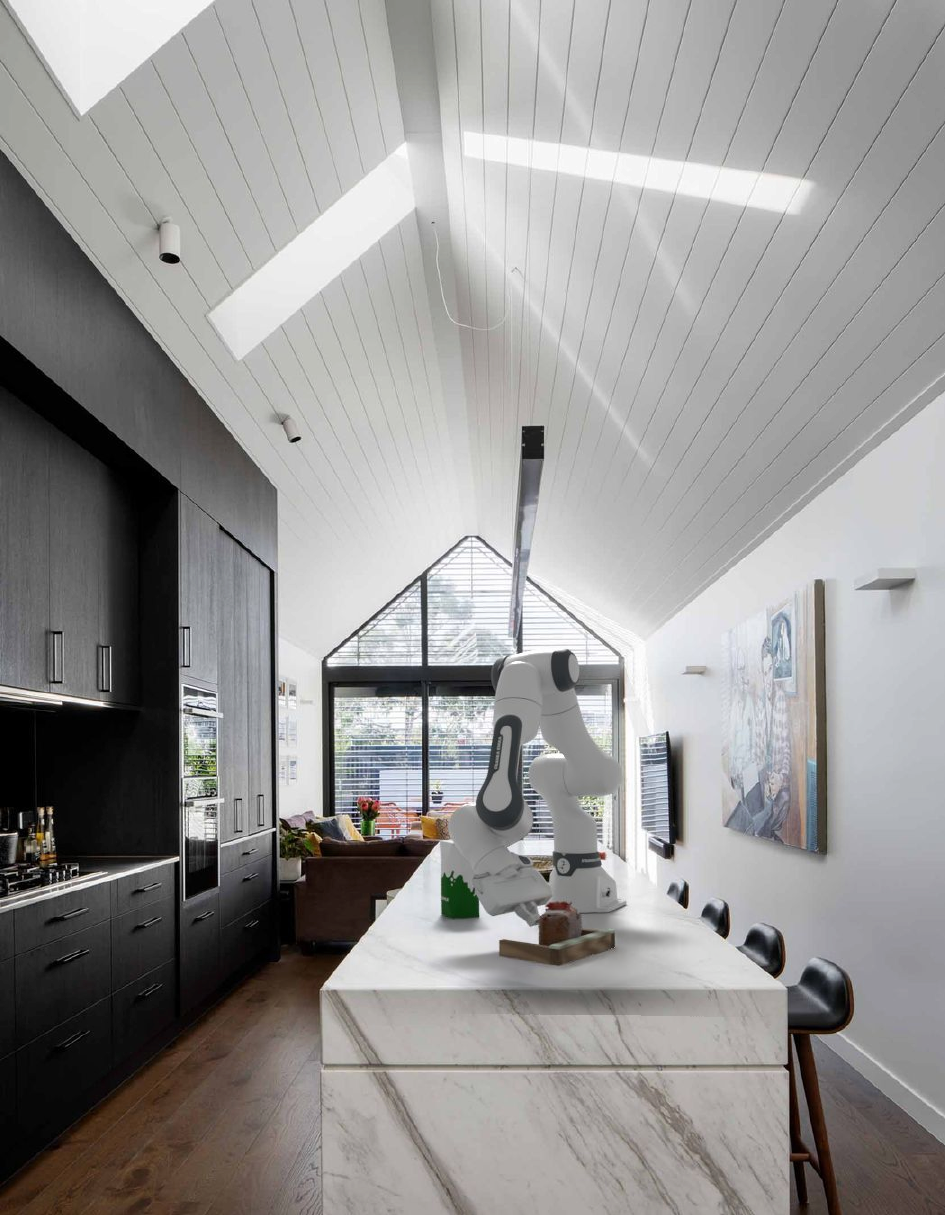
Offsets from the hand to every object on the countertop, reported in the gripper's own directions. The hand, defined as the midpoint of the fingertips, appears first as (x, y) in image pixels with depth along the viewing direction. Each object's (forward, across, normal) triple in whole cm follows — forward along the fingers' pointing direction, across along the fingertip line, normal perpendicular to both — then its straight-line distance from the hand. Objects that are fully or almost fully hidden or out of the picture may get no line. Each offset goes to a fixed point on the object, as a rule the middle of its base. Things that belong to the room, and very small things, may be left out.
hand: (536, 923), depth 202 cm
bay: (+7, 0, 0) cm, 7 cm away
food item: (+7, +2, 0) cm, 7 cm away
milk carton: (-22, +20, +30) cm, 42 cm away
